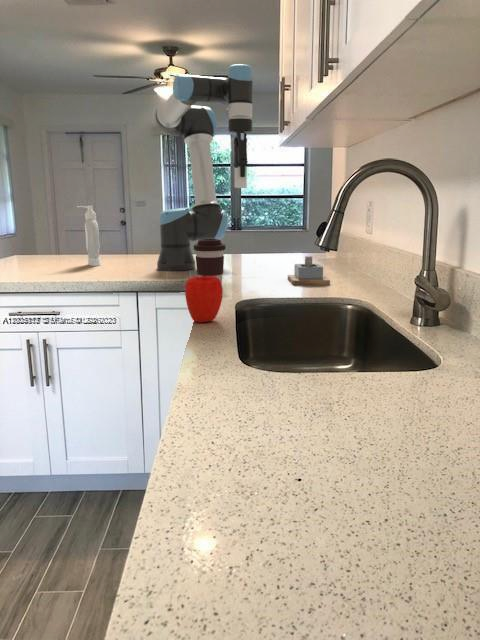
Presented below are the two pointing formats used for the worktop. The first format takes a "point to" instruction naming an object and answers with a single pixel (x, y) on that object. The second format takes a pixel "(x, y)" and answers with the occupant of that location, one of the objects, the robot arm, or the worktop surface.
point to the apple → (203, 297)
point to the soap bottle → (92, 237)
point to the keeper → (310, 281)
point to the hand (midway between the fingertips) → (240, 188)
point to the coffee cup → (210, 257)
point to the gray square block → (308, 272)
